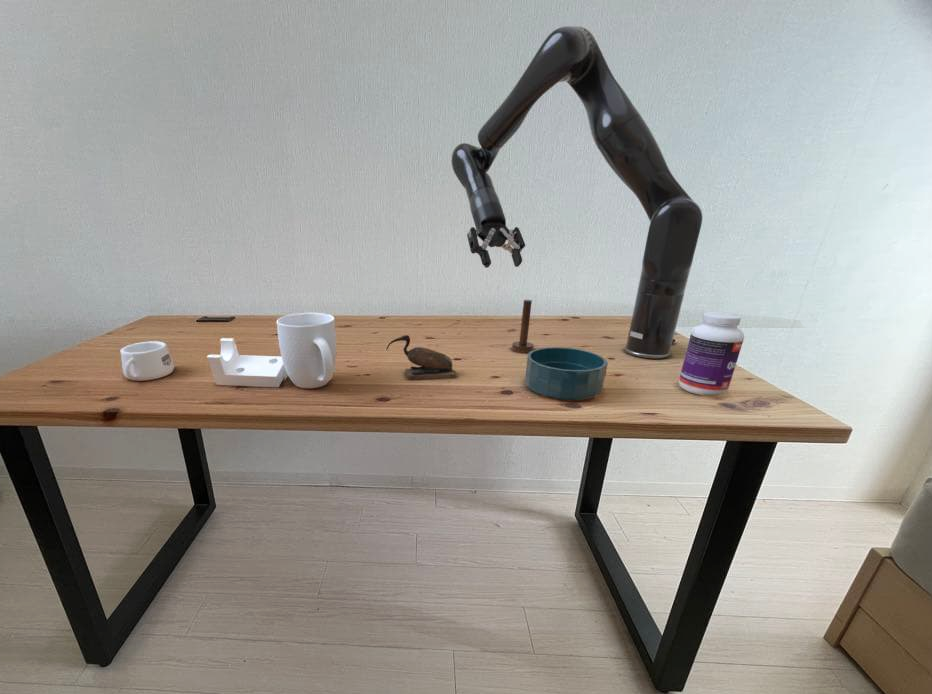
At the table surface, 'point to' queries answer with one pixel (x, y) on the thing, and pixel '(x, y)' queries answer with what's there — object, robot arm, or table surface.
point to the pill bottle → (712, 354)
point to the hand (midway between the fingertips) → (503, 265)
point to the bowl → (565, 373)
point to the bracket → (245, 367)
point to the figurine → (426, 362)
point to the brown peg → (524, 331)
